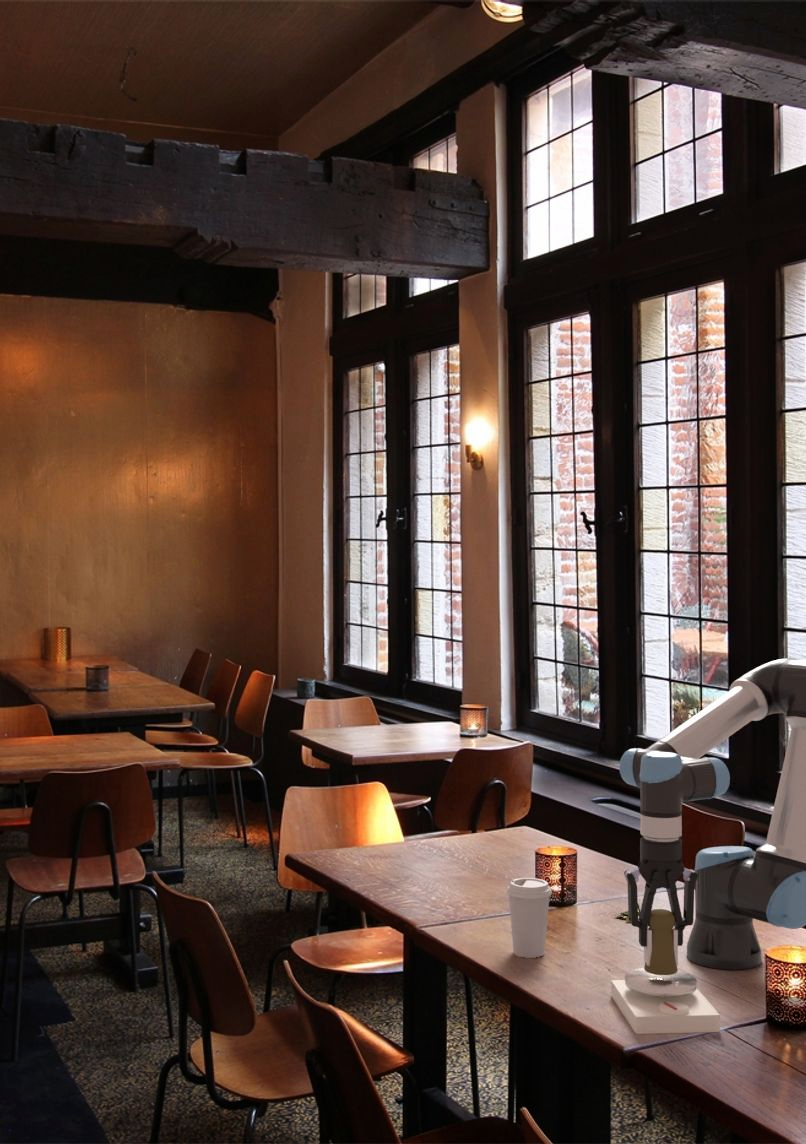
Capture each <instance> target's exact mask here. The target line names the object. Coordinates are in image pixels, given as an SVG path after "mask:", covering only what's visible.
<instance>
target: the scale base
mask: <svg viewBox="0 0 806 1144" xmlns="http://www.w3.org/2000/svg"><path fill="white" fill-rule="evenodd" d="M610 983H611V985H610V989H611V991H610V993H611V994H610V996H611V998H612V999H613V1001H614V1003H615V1004H616V1006H617V1007H618V1009H619V1011H621V1013H622V1015H623V1017H624V1018H625V1019H626V1021H627V1022H628V1024H629V1025H630V1027H631V1028H632V1030H633V1032H634V1033H635V1034H636V1035H650V1034H651V1035H652V1034H686V1033H687V1034H689V1033H693V1034H694V1033H695V1034H696V1033H721V1014H720V1013H719V1012H718V1011H717V1009H715V1008H714V1006H713V1005H712V1004H711V1003H710V1002H709V1001H708V999H707V998H706V997H705V996H704V994H702V993H701V991H700V990H699V989H698V988H697V989H696V991H695V992H693V993H692V994H689V995H686V996H681V997H654V996H648V995H643V994H640V993H637V992H634V991H632V990H630V989H629V988H627V987H626V985H625V979H612V980H611V981H610Z"/></svg>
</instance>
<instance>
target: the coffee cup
mask: <svg viewBox="0 0 806 1144" xmlns="http://www.w3.org/2000/svg"><path fill="white" fill-rule="evenodd" d="M505 893H506V895H508V901H509V915H510V925H511V935H512V936H511V937H512V938H511V939H512V949H513V955H514V956H516V957H519V958H523V957H525V958H524V959H537V958H536V957H538V958H541V957H540V956H542V957H543V956H544V955H545V951H546V950H545V949H546V940H547V929H548V928H547V927H548V918H549V917H548V915H549V905H550V896H551V895H552V893H553V892H552V889H551V887H550V886H549V883H548V881H547V880H545V879H542V878H541V879H540V878H535V877H520V878H514V879H512V880H511V881H510V882H509V885H508V886H507V888H506V892H505Z"/></svg>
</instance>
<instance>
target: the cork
mask: <svg viewBox="0 0 806 1144" xmlns="http://www.w3.org/2000/svg"><path fill="white" fill-rule="evenodd" d="M674 925H675V916H674V915H673V913H672V912H671V910H669V909H665V908H664V909H662V908H656V909H655V908H654V909H652V910H651V914H650V919H649V924H648V927H649V928H650V929H651V930H652V952H651V958H650V965H649V966H647V964H646V963H645V962H644V967H643V968H644V969H645V971H646V972H648V973H651V974H655V975H672V974H675V973H677V971H678V970H679V969H678V965H676V960H675V953H674V944H673V932H672V929H673V927H674Z"/></svg>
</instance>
